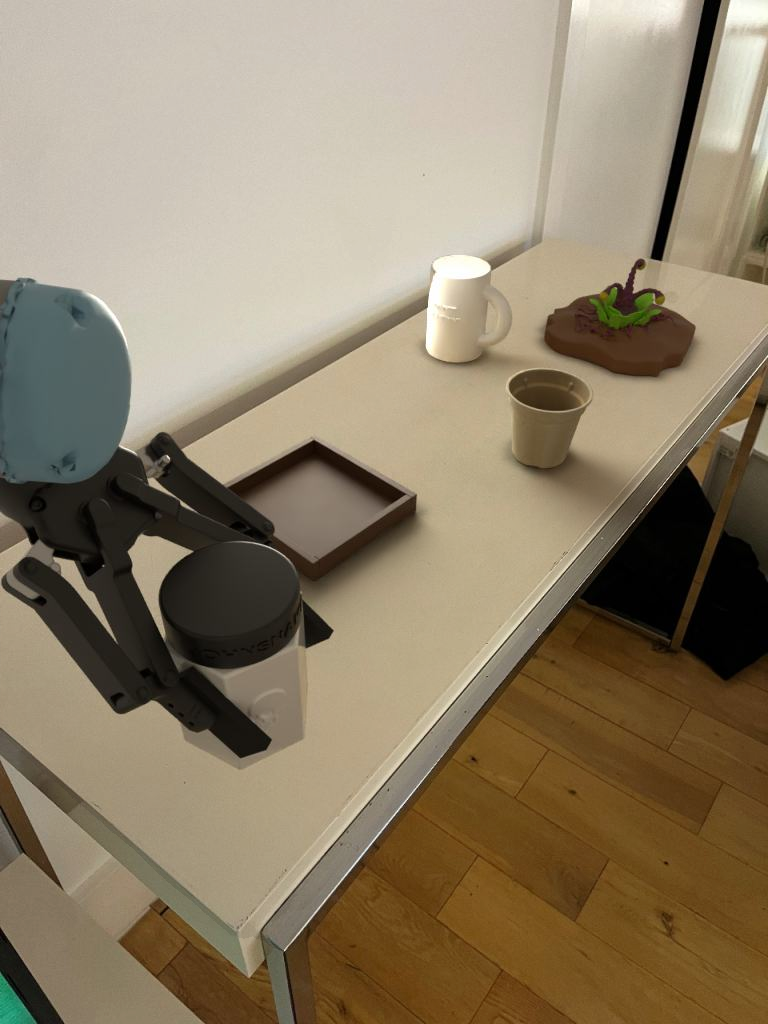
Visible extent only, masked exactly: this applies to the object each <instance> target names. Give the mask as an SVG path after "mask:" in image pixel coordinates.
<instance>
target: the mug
mask: <svg viewBox="0 0 768 1024" xmlns="http://www.w3.org/2000/svg"><path fill="white" fill-rule="evenodd" d="M492 271H493V270H492V266H491V264H490V263H489V262H487V260H485V259H483V258H480V257H477V256H473V255H466V254H448V255H443V256H440V257H438V258H436V259H434V260H433V261H432V262H431V264H430V269H429V288H428V305H427V306H428V307H427V311H426V313H427V321H426V322H427V323H426V326H427V327H426V340H425V349H426V351H427V353H428V354H429V355H430V356H431V357H432V358H434V359H436V360H439V361H442V362H446V363H457V364H459V363H467V362H471V361H474V360H476V359H478V358H480V356H481V355H482V353H483V351H484V348H488V347H492V346H496V345H497V344H499V343H501V342H502V341H503V340H505V339H506V338H507V336H508V334H509V333H510V330H511V327H512V324H513V313H512V308H511V305H510V303H509V301H508V299H507V298H506V297H505V295H504V294H503V292H501V291H500V290H499V289H498V288H496V287H495V286H493V285H491V281H492V280H491V279H492ZM489 303H490V304H491V305H492V307H493V308H494V311H495V312H496V316H497V323H496V324H497V325H496V326H495V327H494V329H493V330H492V331H490V332H486V325H487V317H488V306H489Z"/></svg>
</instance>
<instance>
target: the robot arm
mask: <svg viewBox="0 0 768 1024" xmlns="http://www.w3.org/2000/svg"><path fill="white" fill-rule="evenodd" d="M131 360H132V359H131V354H130V349H129V346H128V342H127V338H126V336H125V334H124V330H123V328H122V326H121V324H120V322H119V321H118V319H117V317H116V315H115V314H114V313H113V312H112V311H111V309H110V308H109V307H108V306H107V304H106V303H105V302H104V301H102V300H101V299H100V298H99V297H97V296H96V295H95V294H92V293H90V292H87V291H84V290H82V289H78V288H71V287H66V286H59V285H57V286H56V285H51V284H44V283H39V281H37V280H36V279H34V278H31V277H17V279H13V280H12V279H0V513H1V514H2V515H3V516H5V517H6V518H8V519H10V520H12V521H14V522H16V523H17V524H19V525H20V527H22V529H23V530H24V532H25V535H26V537H27V540H28V542H29V544H30V547H29V549H28V550H27V551H26V553H24V555H23V557H22V558H21V559H20V560H19V561H18V562H17V563H16V564H15V565H14V566H12V567H11V568H10V569H9V570H8V571H6V573H5V574H4V575H2V577H1V579H0V586H1V587H2V589H3V590H4V591H5V592H6V593H8V594H10V595H11V596H13V597H14V598H16V599H17V600H19V601H20V602H22V603H23V604H25V605H26V606H28V607H29V608H31V609H32V610H34V611H35V613H36V614H37V615H38V616H39V619H41V620H42V622H43V623H44V625H46V627H47V628H48V629H49V631H50V632H51V633H52V635H53V636H54V637H55V638H56V640H57V641H58V642H59V643H60V644H61V646H62V647H63V648H64V649H65V651H66V652H67V653H68V655H69V656H70V657H71V658H72V660H73V661H74V663H75V664H76V665H77V666H78V668H79V669H80V670H81V672H82V673H83V674H84V675H85V677H86V678H87V679H88V680H89V682H90V683H91V684H92V686H93V687H94V688H95V689H96V691H97V692H98V693H99V695H100V696H101V697H102V698H103V699H104V701H105V702H106V704H108V706H109V707H110V709H112V711H113V712H115V714H118V715H126V714H128V713H129V712H132V711H134V710H136V709H138V708H140V707H142V706H145V705H147V704H149V703H150V702H151V701H152V702H156V703H157V704H159V705H160V706H161V707H162V708H164V709H165V710H166V711H167V712H168V713H169V714H170V715H171V716H172V717H174V718H175V719H177V721H178V722H179V723H180V722H181V723H182V724H183V725H184V726H185V727H186V728H187V729H188V730H190V731H193V732H196V733H199V732H202V731H204V730H207V729H208V730H209V731H210V732H211V733H212V734H213V735H215V736H216V737H217V738H218V739H219V740H220V741H221V742H222V743H223V744H225V745H226V746H227V747H228V748H229V749H230V750H231V751H232V752H233V753H235V754H236V755H237V756H238V757H239V758H240V759H241V758H244V757H247V756H250V755H253V754H256V753H259V752H262V751H265V750H267V748H268V746H269V745H270V743H271V741H272V739H271V738H270V737H269V736H268V735H267V734H266V733H265V732H264V731H262V730H261V729H260V728H259V727H258V726H257V725H256V724H255V723H254V722H253V721H252V720H251V719H249V718H248V717H247V716H246V715H245V714H244V713H243V712H242V711H241V710H240V709H239V708H238V707H236V706H235V705H234V704H233V703H232V702H231V701H230V700H229V699H228V698H226V697H225V696H224V695H223V694H222V693H221V692H220V691H219V690H218V689H217V688H216V687H215V686H214V685H213V684H212V683H210V682H209V681H208V680H207V679H206V678H205V677H204V676H203V675H202V674H201V673H200V672H199V671H197V670H196V669H195V668H194V667H193V666H192V667H190V668H188V669H186V670H183V671H181V672H178V669H177V667H176V665H175V663H174V661H173V659H172V657H171V655H170V653H169V650H168V648H167V646H166V644H165V642H164V637H163V636H162V633H161V631H160V629H159V627H158V625H157V623H156V621H155V619H154V616H153V615H152V613H151V610H150V608H149V606H148V604H147V602H146V599H145V598H144V595H143V593H142V591H141V589H140V586H139V585H138V583H137V580H136V578H135V576H134V574H133V567H134V565H133V560H132V557H131V556H130V554H129V551H130V550H131V549H132V548H133V547H134V545H135V544H136V542H137V540H138V537H140V536H142V535H143V536H146V537H149V538H152V537H158V538H161V539H163V540H165V541H168V542H170V543H172V544H175V545H178V546H180V547H182V548H184V549H187V550H188V551H191V552H194V551H196V550H198V549H201V548H203V547H206V546H209V545H213V544H217V543H223V542H232V541H244V542H253V543H258V544H262V545H265V546H268V547H271V548H273V549H275V550H276V545H275V543H274V542H273V541H272V540H271V539H269V538H270V536H272V535H273V534H274V532H275V527H274V525H273V523H272V522H271V521H270V520H269V519H267V518H266V517H265V516H263V515H262V514H261V513H259V512H258V511H257V510H256V509H254V508H253V507H252V506H250V505H249V504H248V503H246V502H245V501H244V500H242V499H241V498H240V497H238V496H237V495H236V494H235V493H233V492H232V491H231V490H229V489H228V488H227V487H225V486H224V485H223V484H224V483H221V482H220V481H219V480H218V479H216V478H215V477H214V476H212V475H211V474H210V473H208V472H207V471H206V470H205V469H204V468H201V466H199V465H198V464H197V463H195V462H194V461H192V459H191V458H189V457H188V456H187V454H186V453H185V452H184V451H183V449H182V448H181V447H180V446H179V445H178V442H176V441H175V439H174V438H173V437H172V435H170V434H169V433H167V432H165V431H160V432H158V433H157V434H156V435H155V436H154V437H153V438H151V439H150V440H149V441H148V442H147V443H146V444H145V445H144V446H143V447H140V448H138V449H136V451H133V450H131V449H129V448H126V447H124V446H122V445H120V444H121V441H122V440H123V436H124V433H125V430H126V427H127V424H128V420H129V415H130V409H131V398H132V384H133V383H132V382H133V377H132V376H133V375H132V373H133V372H132V362H131ZM149 479H154V480H155V481H156V482H157V483H158V485H159V486H161V487H162V488H163V489H165V490H166V491H167V492H168V493H167V492H164V491H163V490H160V489H158V488H156V487H153V486H152V485H150V483H149ZM181 502H182V503H184V504H185V505H186V506H187V507H185V506H183V505H182V504H181ZM188 507H189V508H188ZM54 558H57V559H61V560H67V561H71V562H74V564H75V567H76V569H77V571H78V572H79V576H80V577H81V579H82V581H83V583H84V585H85V587H86V589H87V590H88V591H90V592H92V593H93V594H94V596H95V598H96V601H97V603H98V605H99V607H100V609H101V611H102V613H103V616H104V617H105V620H106V622H107V625H108V627H109V629H110V631H111V633H112V635H113V636H112V635H111V633H110V632H109V631H108V629H107V628H106V627H105V626H104V624H103V623H102V621H100V619H99V617H97V615H96V614H95V612H94V611H93V610H92V609H91V608H90V606H89V605H88V603H87V602H86V601H85V600H84V599H83V597H82V596H81V595H80V593H79V592H78V591H77V590H76V588H75V587H74V586H73V585H72V584H71V582H69V581H68V580H67V579H66V578H65V577H63V576H62V566H61V564H60V563H58V562H57V561H56V562H55V560H54ZM302 601H303V617H304V632H305V647H306V649H309V648H312V647H313V646H316V645H317V644H321V643H322V642H325V641H327V640H329V639H330V638H331V636H332V635H333V632H334V631H335V630H334V629H333V628H332V627H331V626H330V625H329V624H328V623H327V622H326V621H325V620H324V619H323V618H322V617H321V616H320V615H319V614H318V613H317V611H315V610H314V609H313V608H312V607H311V606H310V605H309V603H308V602H306V601H305V600H304V599H303V598H302Z"/></svg>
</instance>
